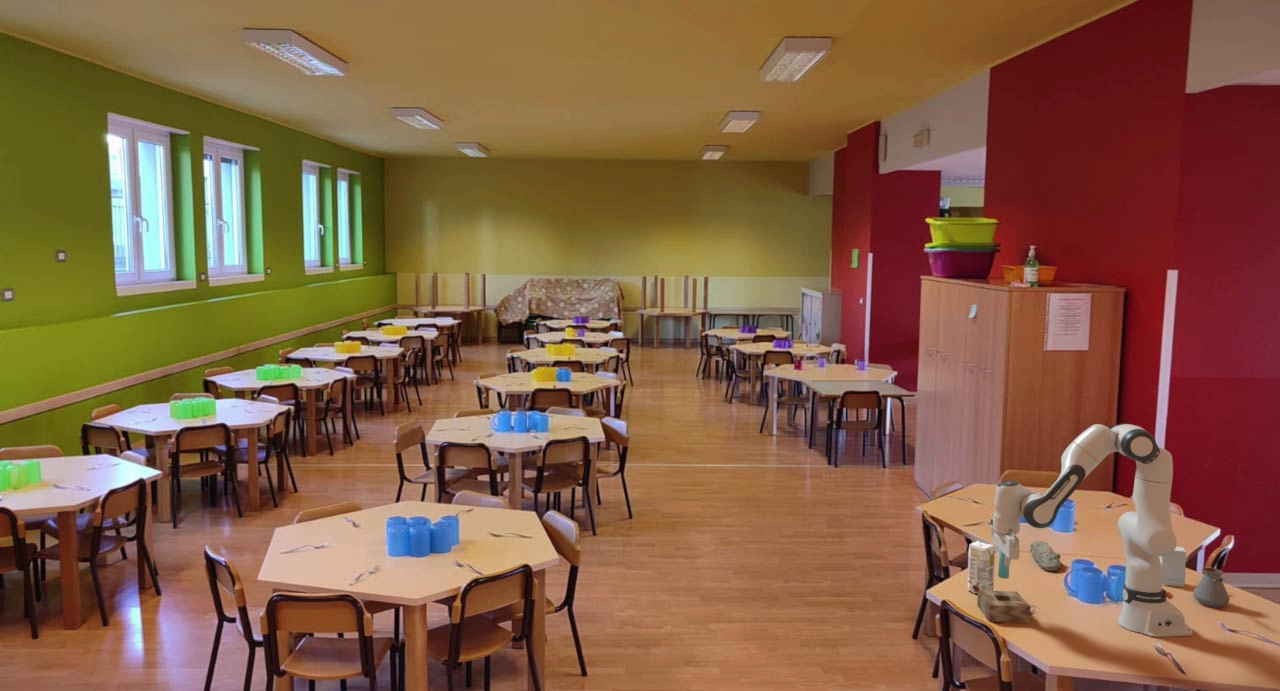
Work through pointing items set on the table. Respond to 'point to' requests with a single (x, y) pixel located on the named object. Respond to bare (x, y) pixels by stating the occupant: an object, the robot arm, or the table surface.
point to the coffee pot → (1211, 589)
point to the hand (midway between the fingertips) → (1004, 563)
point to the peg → (1002, 566)
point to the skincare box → (1174, 568)
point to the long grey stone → (1045, 556)
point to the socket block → (1003, 606)
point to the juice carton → (981, 567)
